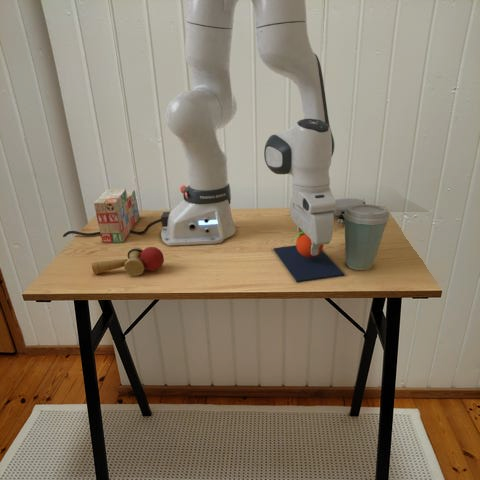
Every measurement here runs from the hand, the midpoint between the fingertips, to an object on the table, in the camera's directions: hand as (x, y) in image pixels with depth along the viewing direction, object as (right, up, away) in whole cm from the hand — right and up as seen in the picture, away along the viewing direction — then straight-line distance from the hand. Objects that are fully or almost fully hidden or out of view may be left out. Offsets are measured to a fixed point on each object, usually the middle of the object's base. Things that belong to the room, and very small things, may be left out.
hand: (308, 247), depth 115 cm
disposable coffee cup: (+13, -5, -1) cm, 14 cm away
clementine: (0, -2, +2) cm, 3 cm away
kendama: (-46, -6, +1) cm, 46 cm away
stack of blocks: (-54, +10, +27) cm, 61 cm away
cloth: (0, -3, +2) cm, 4 cm away
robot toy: (+17, +13, +27) cm, 34 cm away
